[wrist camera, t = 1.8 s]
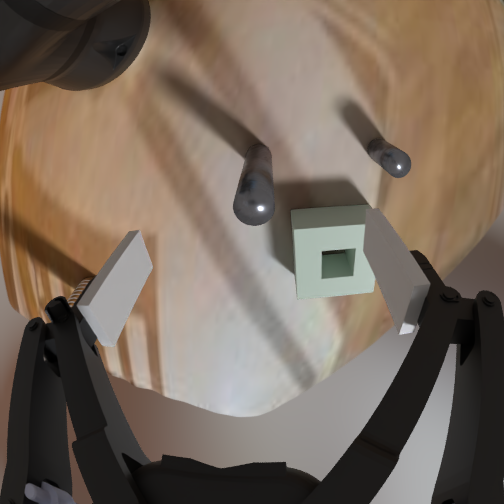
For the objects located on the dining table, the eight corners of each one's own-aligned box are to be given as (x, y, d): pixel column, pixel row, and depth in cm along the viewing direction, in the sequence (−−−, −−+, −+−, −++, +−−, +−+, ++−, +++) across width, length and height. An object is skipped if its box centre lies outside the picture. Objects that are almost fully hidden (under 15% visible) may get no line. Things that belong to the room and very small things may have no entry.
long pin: (244, 145, 30) (230, 190, 19) (270, 143, 30) (272, 186, 18) (248, 169, 32) (236, 227, 20) (272, 166, 32) (276, 223, 20)
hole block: (290, 209, 34) (293, 229, 30) (369, 204, 33) (382, 223, 29) (294, 275, 40) (297, 299, 36) (363, 268, 39) (373, 291, 35)
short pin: (367, 138, 29) (387, 150, 24) (389, 138, 29) (411, 151, 24) (367, 161, 30) (386, 178, 25) (388, 161, 30) (410, 177, 25)
